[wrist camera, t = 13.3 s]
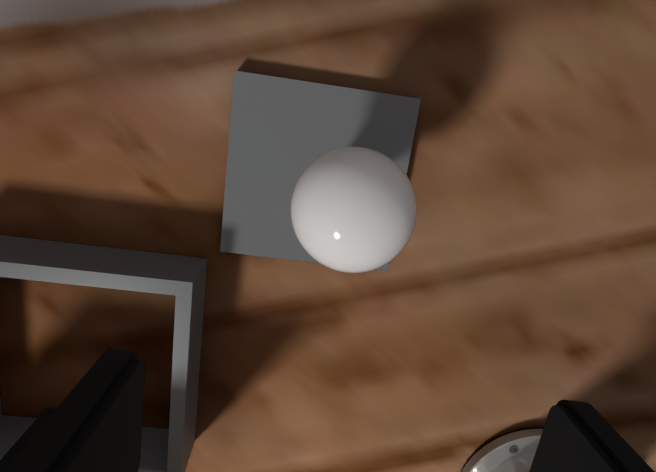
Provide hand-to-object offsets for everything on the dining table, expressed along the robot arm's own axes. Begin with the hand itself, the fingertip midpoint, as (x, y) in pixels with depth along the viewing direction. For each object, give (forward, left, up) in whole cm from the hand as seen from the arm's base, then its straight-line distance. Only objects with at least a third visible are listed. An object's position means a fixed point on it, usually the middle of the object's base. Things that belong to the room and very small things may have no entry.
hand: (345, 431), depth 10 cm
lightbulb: (-1, -2, -22) cm, 22 cm away
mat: (0, -2, -23) cm, 23 cm away
